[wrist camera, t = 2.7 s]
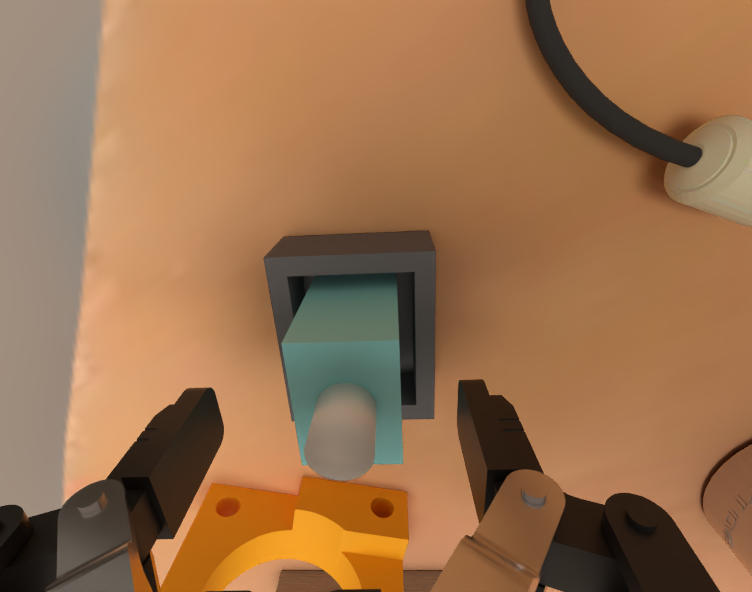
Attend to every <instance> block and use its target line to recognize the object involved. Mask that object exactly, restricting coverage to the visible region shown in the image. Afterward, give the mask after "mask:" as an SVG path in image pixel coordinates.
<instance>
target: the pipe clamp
mask: <svg viewBox="0 0 752 592" xmlns="http://www.w3.org/2000/svg"><path fill="white" fill-rule="evenodd" d="M408 541H409V532H408V509H407V492H404V491H397V490H391V489H384V488H377V487H371V486H364V485H358V484H351V483H344V482H338V481H331V480H324V479H318V478H311V477H305V476H303V479H302V483H301V487H300V491H299V495H298V496H296V495H289V494H282V493H275V492H269V491H262V490H255V489H249V488H242V487H235V486H228V485H222V484H215V483H212V485H211V487H210V489H209V491H208V493H207V495H206V497H205V499H204V501H203V503H202V505H201V507H200V509H199V511H198V513H197V515H196V517H195V519H194V521H193V524H192V526H191V528H190V530H189V532H188V534H187V536H186V538H185V540H184V542H183V544H182V546H181V548H180V550H179V552H178V554H177V556H176V558H175V560H174V562H173V564H172V566H171V568H170V570H169V572H168V574H167V576H166V578H165V580H164V582H163V584H162V586H161V588H160V590H161V592H206V591H223V590H224V588H225V587H226V586H227V585H228V584H229V583H231V582H232V581H233V580H234V579H235V578H236V577H238V576H239V575H240V574H242V573H243V572H245V571H247V570H248V569H250V568H252V567H254V566H256V565H259V564H261V563H264V562H267V561H271V560H277V559H297V560H302V561H306V562H309V563H311V564H314V565H316V566H318V567H320V568H321V569H323V570H324V571H326V572H327V573H328V574H329V575H331V576H332V577H333V578H334V579H335V580H336V582H337V583H338V584H339V585H340V587H341V588H342V589H381V592H404V591H403V558H404V554H405V551H406V548H407V545H408Z"/></svg>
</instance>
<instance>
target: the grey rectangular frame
mask: <svg viewBox="0 0 752 592" xmlns="http://www.w3.org/2000/svg"><path fill="white" fill-rule="evenodd" d="M264 263H265V269H266V275H267V280H268V286H269V292H270V298H271V303H272V309H273V315H274V321H275V326H276V332H277V338H278V344H279V349H280V355H281V361H282V367H283V372H284V378H285V384H286V390H287V395H288V401H289V407H290V413H291V418H292V421H295V420H294V415H293V409H292V403H291V397H290V391H289V385H288V379H287V373H286V368H285V362H284V356H283V350H282V344H281V343H282V341H283V339H284V337H285V335H286V333H287V331H288V329H289V327H290V325H291V323H292V321H293V319H294V317H295V315H296V313H297V311H298V309H299V307H300V305H301V303H302V301H303V299H304V297H305V295H306V293H307V291H308V289H309V287H310V285H311V283H312V281H313V279H314V277H315V275H342V274H369V273H397V298H398V323H399V350H400V381H401V412H402V419H434V387H435V277H436V250H435V248H434V245H433V242H432V239H431V236H430V233H429V231H407V232H383V233H360V234H336V235H313V236H289V237H283V238H282V239H281V240H280V241H279V242H278V243H277V244H276V245H275V246H274V247H273V248H272V250H271V251H270V252H269V253H268V254H267V255H266V256H265V257H264Z"/></svg>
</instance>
